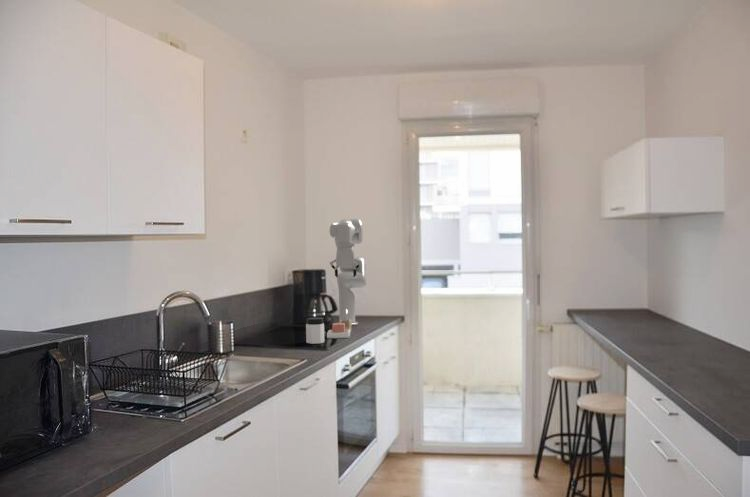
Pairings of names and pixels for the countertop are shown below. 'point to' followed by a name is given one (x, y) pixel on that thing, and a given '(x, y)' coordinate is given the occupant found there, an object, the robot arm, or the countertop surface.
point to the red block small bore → (338, 327)
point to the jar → (315, 330)
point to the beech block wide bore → (347, 324)
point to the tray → (338, 334)
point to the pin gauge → (345, 315)
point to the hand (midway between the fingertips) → (345, 277)
